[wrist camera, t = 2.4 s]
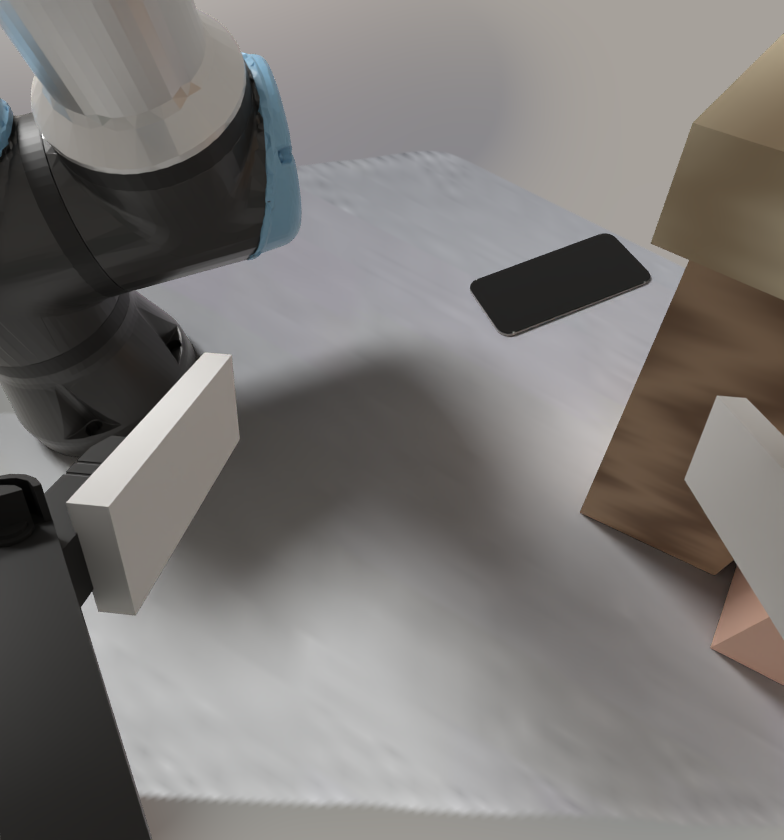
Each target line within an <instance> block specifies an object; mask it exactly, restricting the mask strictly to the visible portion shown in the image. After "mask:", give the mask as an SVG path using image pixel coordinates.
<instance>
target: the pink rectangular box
mask: <svg viewBox="0 0 784 840" xmlns="http://www.w3.org/2000/svg"><path fill="white" fill-rule="evenodd" d="M710 648H711V649H713V650H715V651H717V652H719V653H721V654H723V655H725V656H727V657H729V658H731V659H733V660H735V661H737V662H739V663H741V664H743V665H745V666H747V667H748V668H750V669H752V670H754V671H756V672H758V673H760V674H762V675H764V676H766V677H768V678H770V679H772V680H774V681H776V682H778V683H780V684H782V685H784V640H783V638H782V637H781V635H780V633H779V632H778V630H777V629H776V627H775V625H774V624H773V622H772V620H771V619H770V617H769V616H768V614H767V612H766V611H765V609H764V608H763V606H762V604H761V603H760V601H759V599H758V598H757V596H756V595H755V593H754V591H753V590H752V588H751V586H750V585H749V583H748V582H747V580H746V578H745V577H744V575H743V574H742V572H741V570H740V569H739V567H738V565H737V566H736V569H735V572H734V575H733V579H732V582H731V585H730V588H729V591H728V594H727V597H726V600H725V604H724V607H723V610H722V613H721V616H720V619H719V622H718V625H717V629H716V632H715V635H714V638H713V641H712V644H711V647H710Z"/></svg>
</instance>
